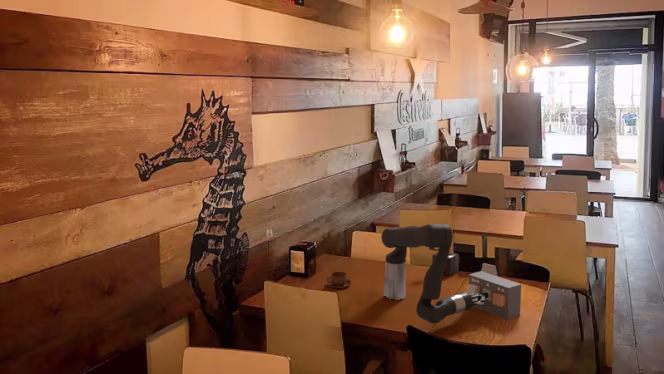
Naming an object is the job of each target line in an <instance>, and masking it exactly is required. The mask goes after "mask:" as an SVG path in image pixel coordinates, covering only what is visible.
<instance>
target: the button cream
mask: <svg viewBox="0 0 664 374" xmlns="http://www.w3.org/2000/svg"><path fill="white" fill-rule="evenodd" d="M467 292H475V293H480V286H478V285H476V284H469V283H468V284H467Z"/></svg>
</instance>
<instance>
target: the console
mask: <svg viewBox="0 0 664 374" xmlns="http://www.w3.org/2000/svg"><path fill="white" fill-rule="evenodd" d="M469 284H476V285H478V286H480V293H483V288H487V289H490V290H492V301H493V294H494V293H497V292H498V293H501V294H504V295H506V298H505V306H502V307H500V306H497V305H494V304H492V301H489V300H486V299H485V304H484V306H481V305H480V304H477V305H474V306H472V308H476V309H478V310H481V311H483V312H486V313H489V314H491V315H494V316H497V317H499V318H502V319H504V320H506V321H509V320H512V319H513V318H517V317H520V316H521V304H522V303H521V301H522V299H521V298H522V283H518V282H517V281H513V280H510V279H507V278H503V277H501V276H498V275H497V276H495V275H491V274H488V273H485V272H482V271H481V270H480V271H475V272H473V273H470V274H469V273H468V285H469Z"/></svg>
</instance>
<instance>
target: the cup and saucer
mask: <svg viewBox="0 0 664 374" xmlns="http://www.w3.org/2000/svg"><path fill="white" fill-rule="evenodd" d="M345 284H346V286H344V285H345ZM351 284H352V281H351V280H349V279H347V273H346V272H344V271H334V272H331V275H330V276H328V277H327V279H326V285H327V286H328V287H330V288H334V289H343V288H348V287H349V286H350V285H351Z"/></svg>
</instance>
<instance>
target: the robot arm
mask: <svg viewBox="0 0 664 374" xmlns="http://www.w3.org/2000/svg"><path fill="white" fill-rule="evenodd" d="M453 237H454V236H453V230H452V227H451V226H450V224H445V223H444V224H443V223H442V224H441V223H440V224H439V223H430V224H429V223H428V224H425V225H422V226H419V225H408V226H395V227H387V228H385V229H384V230H383V231H382V233H381V242H382V245H384V247H386V248H387V249H388V248H389V249H393V248H394V250H392V251H391V252H389V253H387V254H386V255H385V276H384V277H383V297H384V296H386V297H387V298H389V299H394V300H393V301H401V300H400V299H402V300H404V299H405V298H406V294H407V293H406V287H407V285H406V283H407V282H406V281H407V280H406V279H407V278H406V268H407V267H406V266H407V264H406V263H407V260H406V259H407V255H408V254H407V252H408V251H407V250H408V248H409V249H410V248H411V249H414V248H415V249H416V248H420V247H426V248H429V247H430V248H434V249H436V248H437V249H439V251H437V252H438V254H437V257H436V259H435V260H434V262H433V263H432V262H431V263H432V264H430V266H429V267H428V268H427V270H426V273H425V275H424V278H423V283H422V285H423V286H422V293H421V295H420V297H419V300H418V302H417V304H416V308H415V310H416V315H417V316H418V318H419V319H421V320H424V321H426V322H427V323H429V324H438V323H441V322H442V320H444V319H446V318H447V317H449V316H452V315H457V314H460V313H463V312H467V311H469V310H471V309H472V308H473V306H474V305H477V304H480V305H481V306H484V304H485V298H488V293H486V292H484V293H475V292H468V291H466V292H465V291H462V292H460V293H455V294H452V295H451V296H448V297H445V298H442V299H440V297H441V290H442V284H443V283H442V282H443V277H444V275H443V272H444V268H445V265H446V262H447V258H448V255H449V252H451V251H450V250H451V248H452V247H451V246H452V243H453ZM386 297H385V298H386ZM387 298H386V299H387ZM389 299H388V300H389ZM438 299H439V300H438ZM436 300H438V301H437V302H436V303H435V304H432V301H436Z"/></svg>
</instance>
